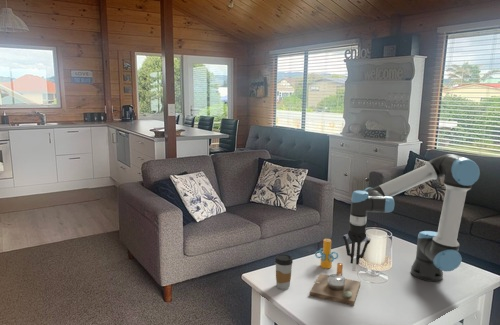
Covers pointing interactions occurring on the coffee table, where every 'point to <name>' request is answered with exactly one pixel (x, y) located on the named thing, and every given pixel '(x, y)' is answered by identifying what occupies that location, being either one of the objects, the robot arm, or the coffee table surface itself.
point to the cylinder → (326, 254)
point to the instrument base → (341, 296)
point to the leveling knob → (337, 279)
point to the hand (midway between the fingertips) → (354, 269)
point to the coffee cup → (283, 271)
